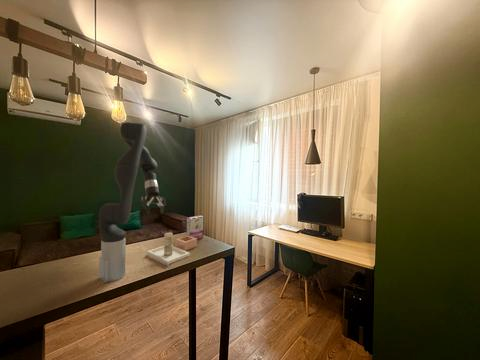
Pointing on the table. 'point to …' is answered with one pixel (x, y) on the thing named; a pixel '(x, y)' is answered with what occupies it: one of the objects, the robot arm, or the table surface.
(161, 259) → the tray
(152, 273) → the table surface
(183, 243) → the pink square box
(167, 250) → the birch dowel
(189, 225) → the candy bar box
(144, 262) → the table surface
